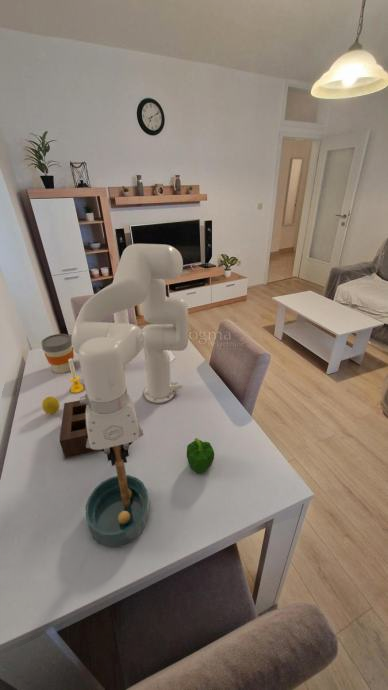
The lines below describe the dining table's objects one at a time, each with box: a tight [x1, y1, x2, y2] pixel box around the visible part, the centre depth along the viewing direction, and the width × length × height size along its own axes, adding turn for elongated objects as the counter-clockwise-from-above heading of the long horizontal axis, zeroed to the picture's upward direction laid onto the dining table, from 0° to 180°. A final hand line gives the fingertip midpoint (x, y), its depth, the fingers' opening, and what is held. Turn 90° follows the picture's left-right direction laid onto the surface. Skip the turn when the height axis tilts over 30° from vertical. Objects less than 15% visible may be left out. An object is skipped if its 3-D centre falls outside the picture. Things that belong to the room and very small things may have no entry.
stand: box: [59, 399, 100, 459], centre depth 94 cm, size 10×18×8 cm, turn 18°
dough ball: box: [118, 511, 130, 525], centre depth 70 cm, size 3×3×3 cm
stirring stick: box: [112, 445, 131, 508], centre depth 67 cm, size 2×2×24 cm
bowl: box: [85, 474, 150, 548], centre depth 71 cm, size 15×15×6 cm
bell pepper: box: [186, 437, 215, 474], centre depth 84 cm, size 8×8×10 cm
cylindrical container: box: [113, 309, 130, 324], centre depth 145 cm, size 7×7×25 cm
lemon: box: [41, 395, 60, 415], centre depth 103 cm, size 6×6×8 cm
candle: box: [68, 358, 85, 394], centre depth 114 cm, size 5×5×16 cm
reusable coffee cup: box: [41, 333, 74, 374], centre depth 128 cm, size 13×13×15 cm
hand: (118, 458), depth 64 cm, fingers closed on stirring stick, 2 cm apart
